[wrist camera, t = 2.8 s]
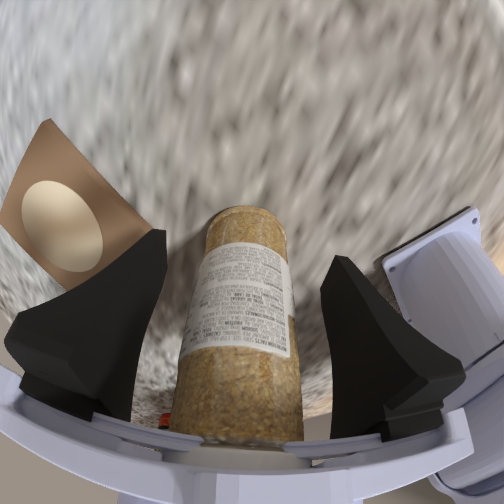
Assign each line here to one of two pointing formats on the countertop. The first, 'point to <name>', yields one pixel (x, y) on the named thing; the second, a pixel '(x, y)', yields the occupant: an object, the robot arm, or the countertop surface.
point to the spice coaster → (67, 211)
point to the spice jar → (240, 351)
